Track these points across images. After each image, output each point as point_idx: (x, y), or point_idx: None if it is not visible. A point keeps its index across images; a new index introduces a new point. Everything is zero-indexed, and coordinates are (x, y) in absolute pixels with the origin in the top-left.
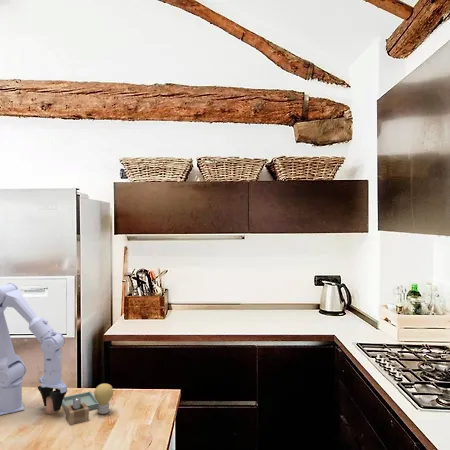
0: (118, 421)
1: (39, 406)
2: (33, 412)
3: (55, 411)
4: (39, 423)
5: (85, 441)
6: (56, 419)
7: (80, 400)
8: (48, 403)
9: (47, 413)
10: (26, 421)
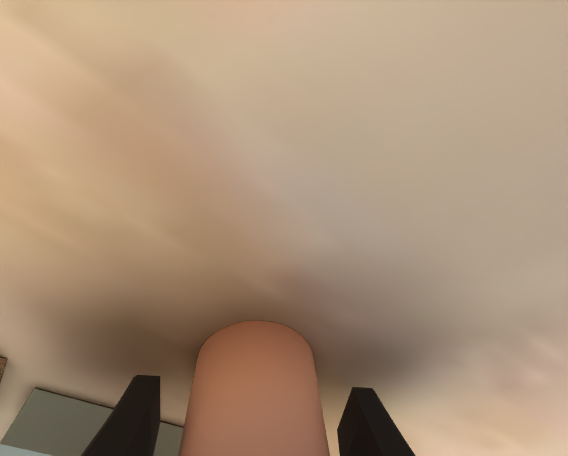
0: None
1: (467, 366)
2: (431, 270)
3: (193, 378)
4: (99, 126)
5: None
6: (42, 294)
7: None
8: (235, 444)
9: (258, 324)
10: (320, 67)
